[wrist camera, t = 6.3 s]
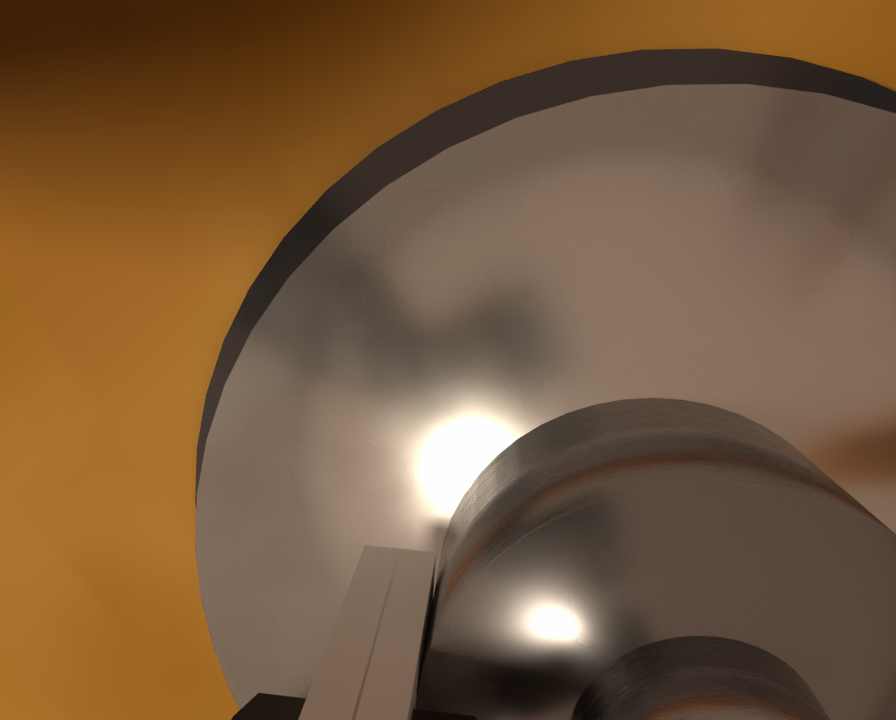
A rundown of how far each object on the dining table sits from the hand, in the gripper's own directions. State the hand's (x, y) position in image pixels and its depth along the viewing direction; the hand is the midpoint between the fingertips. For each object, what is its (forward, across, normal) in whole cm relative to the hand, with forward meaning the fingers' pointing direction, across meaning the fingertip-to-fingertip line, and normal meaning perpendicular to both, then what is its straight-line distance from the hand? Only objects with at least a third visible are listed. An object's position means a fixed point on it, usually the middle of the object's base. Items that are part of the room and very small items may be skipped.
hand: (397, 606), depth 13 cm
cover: (+1, +5, 0) cm, 5 cm away
